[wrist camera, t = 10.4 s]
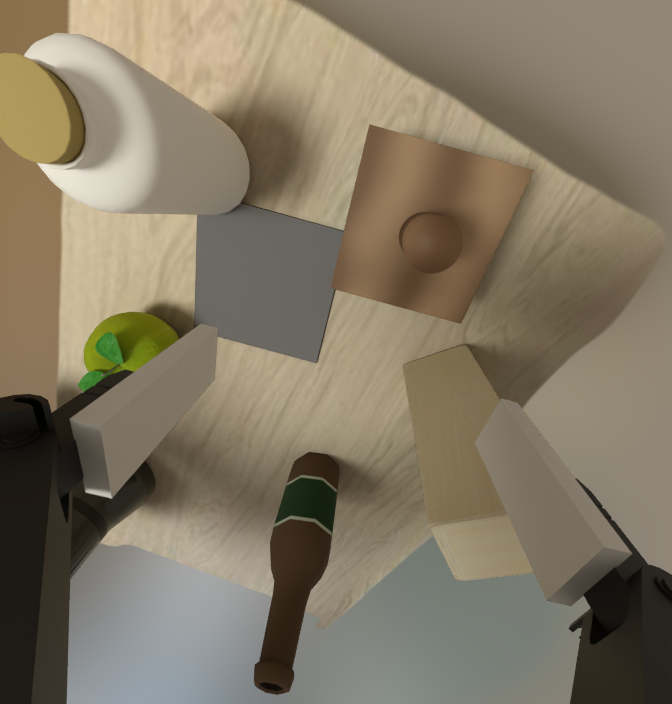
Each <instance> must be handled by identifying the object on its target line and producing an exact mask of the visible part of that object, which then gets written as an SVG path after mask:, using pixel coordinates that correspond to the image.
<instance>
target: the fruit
mask: <svg viewBox="0 0 672 704" xmlns="http://www.w3.org/2000/svg"><path fill="white" fill-rule="evenodd" d="M178 340H179V338H178V335H177V333H176V332H175V330H174V329H173V328H172V327H170V326H169V325H168V324H167V323H165V322H164V321H162V320H161V319H159V318H158V317H156V316H153V315H150V314H146V313H140V312H127V313H121V314H117V315H114V316H111V317H109V318H107V319H106V320H104V321H103V322H101V323H100V324H99V325H98V326H97V327H96V328H95V330H94V331H93V333H92V334H91V336H90V337H89V339H88V341H87V343H86V345H85V348H84V362H85V366H86V368H87V370H88V371H89V372H88V373H87V374H86V375H85V376H84V377H83V378H82V379H81V380H80V382H79V384H78V386H79V388H80V389H81V390H82V391H85V390H87V389H89V388H90V387H92V386H95V384H96V383H98V382H99V381H101V380H102V379H104V378H105V377H107V376H108V375H111V374H114V373H116V372H119V371H122V370H125V369H126V370H130V371H134V372H135V371H136V370H138V369H139V368H140V367H142V366H143V365H145V364H146V363H147V362H149V361H150V360H152V359H153V358H154V357H156V356H157V355H158V354H160V353H161V352H163V351H164V350H165V349H167V348H168V347H169V346H171V345H172V344H174V343H175V342H176V341H178Z"/></svg>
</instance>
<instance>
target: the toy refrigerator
mask: <svg viewBox="0 0 672 704" xmlns="http://www.w3.org/2000/svg"><path fill="white" fill-rule="evenodd" d="M403 371H404V377H405V383H406V390H407V396H408V402H409V408H410V414H411V421H412V427H413V433H414V439H415V446H416V452H417V458H418V465H419V471H420V477H421V484H422V490H423V496H424V502H425V508H426V514H427V519H428V524H429V527H430V529H431V531H432V534H433V536H434V538H435V540H436V542H437V544H438V545H439V547H440V549H441V551H442V553H443V555H444V557H445V559H446V561H447V563H448V565H449V567H450V569H451V571H452V573H453V575H454V577H455V578H456V579H457V580H459V581H462V580H473V579H482V578H492V577H500V576H510V575H519V574H528V573H534V572H533V570H532V567H531V565H530V563H529V561H528V559H527V556H526V554H525V552H524V550H523V548H522V545H521V543H520V541H519V539H518V537H517V534H516V532H515V530H514V528H513V526H512V523H511V521H510V519H509V517H508V515H507V512H506V510H505V508H504V506H503V504H502V501H501V499H500V497H499V495H498V493H497V491H496V488H495V486H494V484H493V482H492V480H491V477H490V475H489V473H488V471H487V469H486V466H485V464H484V462H483V460H482V458H481V455H480V453H479V451H478V449H477V447H476V444H475V442H476V440H477V438H478V437H479V435H480V433H481V432H482V430H483V428H484V426H485V425H486V423H487V421H488V420H489V418H490V416H491V415H492V413H493V411H494V410H495V408H496V406H497V404H498V403H499V401H500V399H499V397H498V395H497V394H496V392H495V390H494V389H493V387H492V385H491V384H490V382H489V381H488V379H487V377H486V376H485V374H484V372H483V371H482V369H481V368H480V366H479V364H478V363H477V361H476V359H475V358H474V356H473V355H472V353H471V351H470V350H469V348H468V346H467V345H461V346H458V347H455V348H452V349H449V350H446V351H442V352H439V353H436V354H433V355H430V356H427V357H424V358H421V359H418V360H415V361H412V362H409V363H406V364H404V365H403Z"/></svg>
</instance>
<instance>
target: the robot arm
mask: <svg viewBox="0 0 672 704" xmlns="http://www.w3.org/2000/svg"><path fill="white" fill-rule="evenodd" d="M217 334H218V328H216V327H212V326H208V325H204V324H200V325H198V326H197V327H196V328H194V329H193V330H192V331H190V332H189V333H187V334H186V335H185V336H183V337H182V338H180V339H179V340H178V341H176V342H175V343H174V344H172V345H171V346H169V347H168V348H167V349H165V350H164V351H163V352H161V353H160V354H158V355H157V356H156V357H154V358H153V359H152V360H150V361H149V362H147V363H146V364H145V365H143V366H142V367H140V368H139V369H138V370H136V371H135V372H134V371H130V370H126V369H125V370H122V371H119V372H116V373H114V374H111V375H108V376H107V377H105V378H104V379H102V380H101V381H99V382H98V383H96V384H95V386H92V387H90V388H89V389H87V390H85V391H84V393H81V394H79V395H78V396H76V397H75V398H73V399H72V400H70V401H69V402H67V403H66V404H64V405H63V406H61V407H60V408H58V409H57V410H55V411H54V412H53V413H51V409H50V405H49V403H48V400H47V399H45V398H43V397H41V396H37V395H31V394H23V395H12V396H8V397H3V398H0V704H66V701H67V699H66V698H67V666H68V633H69V632H68V631H69V599H70V597H69V596H70V579H71V578H72V577H73V576H74V574H75V573H76V572H77V570H78V569H79V568H80V566H81V565H82V564H83V563H84V561H85V560H86V559H87V558H88V556H89V555H90V554H91V553H92V551H93V550H94V549H95V548H96V546H97V545H98V544H99V542H100V541H101V540H102V539H103V537H104V536H105V535H106V534H107V533H108V531H109V530H110V529H112V528H113V527H114V526H116V525H117V524H118V523H120V522H121V521H122V520H124V519H125V518H126V517H128V516H129V515H130V514H131V513H133V512H134V511H135V510H136V509H138V508H139V507H141V506H142V505H143V504H144V503H145V501H146V500H147V499H148V497H149V496H150V495H151V493H152V492H153V490H154V487H155V481H154V477H153V474H152V472H151V470H150V469H149V467H148V466H147V465H146V463H145V462H144V461H145V460H146V458H147V457H148V456H149V455H150V454H151V453H152V451H153V450H154V449H155V448H156V447H157V446H158V445H159V443H160V442H161V441H162V440H163V439H164V438H165V436H166V435H167V434H168V433H169V432H170V431H171V429H172V428H173V427H174V426H175V425H176V424H177V423H178V421H179V420H180V419H181V418H182V417H183V416H184V414H185V413H186V412H187V411H188V410H189V409H190V407H191V406H192V405H193V404H194V403H195V402H196V400H197V399H198V398H199V397H200V396H201V395H202V394H203V392H204V391H205V390H206V389H207V388H208V387H209V385H210V384H211V383H212V382H213V381H214V380H215V369H216V351H217ZM475 444H476V447H477V449H478V451H479V453H480V455H481V458H482V460H483V462H484V464H485V466H486V469H487V471H488V473H489V475H490V477H491V480H492V482H493V484H494V486H495V488H496V491H497V493H498V495H499V497H500V499H501V501H502V504H503V506H504V508H505V510H506V512H507V515H508V517H509V519H510V521H511V523H512V526H513V528H514V530H515V532H516V534H517V537H518V539H519V541H520V543H521V545H522V548H523V550H524V552H525V554H526V556H527V559H528V561H529V563H530V565H531V567H532V570H533V572H534V574H535V576H536V578H537V581H538V583H539V585H540V587H541V589H542V591H543V594H544V596H545V598H546V600H547V601H551V602H555V603H560V604H564V605H568V606H572V605H573V604H574V603H575V602H577V601H578V600H579V599H580V598H581V597H582V596H584V597H585V598H586V600H587V602H588V604H589V605H590V607H591V608H590V609H589V610H588V611H587V612H586V613H584V614H583V615H582V616H581V617H579V618H578V619H577V620H576V621H574V622H573V623H572V624H571V626H570V627H569V629H570V630H571V631H572V632H574V631H575V630H576V629H577V628H582V631H581V636H580V637H579V638H580V644H579V651H578V656H577V663H576V669H575V676H574V682H573V688H572V695H571V701H570V704H672V575H671V574H669V573H668V572H666V571H664V570H662V569H660V568H658V567H655V566H652V565H648V564H647V562H646V561H645V560H644V558H643V557H642V556H641V555H640V553H639V552H638V551H637V550H636V548H635V547H634V546H633V545H632V543H631V542H630V541H629V539H628V538H627V537H626V535H625V534H624V533H623V532H622V530H621V529H620V528H619V527H618V525H617V524H616V523H615V521H613V520H611V516H610V515H609V514H608V513H607V511H606V510H605V509H603V508H602V505H601V504H600V502H599V501H598V500H597V499H596V497H595V496H594V495H593V493H592V492H591V491H590V490H589V489H588V488H586V487H585V486H584V485H583V484H582V483H581V482H580V481H579V480H578V479H576V478H574V476H573V475H572V474H571V472H570V471H569V470H568V469H567V467H566V466H565V465H564V463H563V462H562V461H561V459H560V458H559V457H558V455H557V454H556V453H555V452H554V450H553V449H552V448H551V446H550V445H549V444H548V443H547V441H546V440H545V438H544V437H543V436H542V434H541V433H540V432H539V431H538V429H537V428H536V427H535V425H534V424H533V423H532V421H531V420H530V419H529V417H528V416H527V415H526V413H525V412H524V411H523V409H522V408H521V407H520V405H519V404H518V403H517V402H513V401H509V400H505V399H500V401H499V403H498V404H497V406H496V408H495V410H494V411H493V413H492V415H491V416H490V418H489V420H488V421H487V423H486V425H485V426H484V428H483V430H482V432H481V433H480V435H479V437H478V438H477V440H476V442H475Z"/></svg>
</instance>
